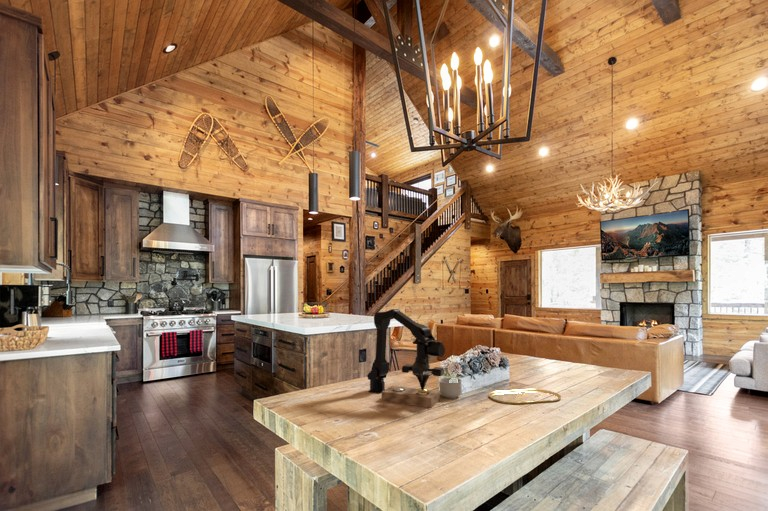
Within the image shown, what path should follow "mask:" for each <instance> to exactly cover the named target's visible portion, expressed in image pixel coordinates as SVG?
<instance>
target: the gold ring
mask: <svg viewBox="0 0 768 511" xmlns="http://www.w3.org/2000/svg"><path fill="white" fill-rule="evenodd" d="M521 392H525V393H540V394H541V393H542V394H547V393H549V394H548V395H551V394H553V395H552V396H554V395H555V396H554V397H556V396H557V397H558V398H557V397H556V398H555V399H543V400H531V401H530V400H528V401H505V400H500V399H497V398H493V396H495V395H504V394H508V395H509V394H518V393H519V394H522V393H521ZM488 397H489V398H490V400H492V401H494V402H497V403H501V404H509V405H528V404H539V403H552V402H553V403H554V401H555V402H558V401H560V400H561V398H562V395H561V394H560V393H557V392H555V391H551V390H546V389H540V388H539V389H538V388H524V389H510V390H495V391H491V392H489V393H488Z"/></svg>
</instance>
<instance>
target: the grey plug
mask: <svg viewBox="0 0 768 511" xmlns="http://www.w3.org/2000/svg"><path fill="white" fill-rule="evenodd" d="M400 387H401V386H398V387H397V388H394V391H396V392H403V391H404V388H400Z"/></svg>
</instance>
